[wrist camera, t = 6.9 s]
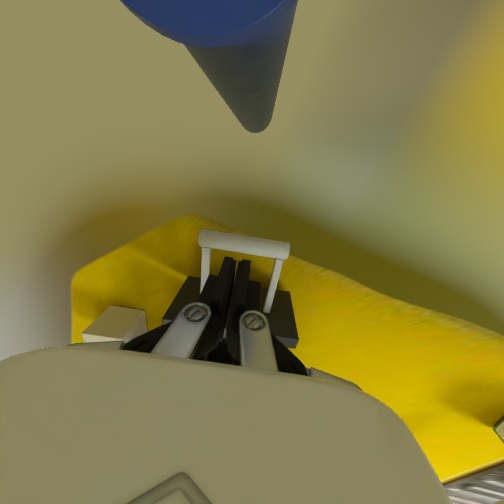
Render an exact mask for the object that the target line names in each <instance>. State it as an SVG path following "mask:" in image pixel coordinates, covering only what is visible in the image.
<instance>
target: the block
mask: <svg viewBox="0 0 504 504" xmlns="http://www.w3.org/2000/svg"><path fill="white" fill-rule="evenodd" d="M146 332H147V324H146V317H145V310H139V309H133V308H126V307H120V306H113V305H110V306H109V307H108V308H107V309H106V310H105V311H104V312H103V313H102V314H101V315H100V316H99V317H98V318H97V319H96V320H95V321H94V322H93V323H92V324H91V325H90V326H89V327H88V328H87V329H86V330H85V331H84V332H83V333H82V336H83V338H84V341H85V343H88V342H104V341H119V340H123V341H124V343H127V342H129V341H130V340H132V339H134V338H135V337H138V336H140V335H142V334H144V333H146Z"/></svg>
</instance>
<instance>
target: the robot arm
mask: <svg viewBox="0 0 504 504" xmlns="http://www.w3.org/2000/svg"><path fill="white" fill-rule="evenodd" d="M250 264H251V260H244V259H243V260H242V261H239V263H238V268H237V272H236V277H235V282H234V275H235V267H236V260H233V258H231V257H225V258H224V261H223V263H222V266H221V269H220V272H219V275H218V276H216V275H210V274H209V276H208V278H207V280H206V282H205V285H204V287H203V289H202V292H201V294H200V296H199V299H198V301H197V302H193V303H190V304H188V305H186V306H185V307H184V308H183V309H182V310H181V312H180V313H179V314H178V316H177V317H176V318H175V320H173V321H171V322H169V323H166V324H164V325H162V326H160V327H158V328H155V329H153V330H151V331H149V332H146V333H144V334H142V335H140V336H138V337H135V338H134V339H132V340H130V341H129V342H127V343H124V341H123V340H119V341H104V342H88V343H75V344H70V345H67V346H62V347H50V348H45V349H39V350H34V351H29V352H25V353H21V354H18V355H15V356H12V357H9V358H7V359H5V360H3V361H1V362H0V504H452V502H451V500H450V498H449V497H448V495H447V493H446V491H445V489H444V487H443V485H442V484H441V482H440V480H439V478H438V476H437V474H436V473H435V471H434V469H433V467H432V465H431V464H430V462H429V460H428V458H427V457H426V455H425V453H424V452H423V450H422V448H421V447H420V445H419V444H418V442H417V440H416V439H415V437H414V435H413V434H412V433H411V431H410V430H409V428H408V427H407V425H406V424H405V423H404V422H403V420H402V419H401V418H400V417H399V416H398V415H397V414H396V413H395V412H394V411H393V410H392V409H391V408H390V407H388V406H387V405H385V404H384V403H383V402H381V401H380V400H378V399H376V398H375V397H373V396H371V395H369V394H367V393H365V392H363V391H362V390H361V389H360V388H359V387H358V386H357V385H356V384H354V383H352V382H350V381H347V380H345V379H342V378H339V377H337V376H334V375H331V374H329V373H326V372H323V371H320V370H318V369H315V368H312V367H311V368H310V369H308V368H306V367H305V366H304V365H303V363H302V362H301V361H300V360H299V359H298V358H297V357H296V356H295V355H294V354H293V353H292V352H291V351H290V350H289V349H287V348H286V347H285V346H284V345H283V344H282V343H281V342H280V341H279V340H278V339H277V338H276V337H275V336H274V335H273V334H272V333H271V332H270V328H269V324H268V320H267V318H266V317H265V315H263V314H262V313H261V312H259V300H260V282H256V281H249V273H250ZM233 283H234V286H233ZM232 290H233V291H232ZM229 306H230V307H229ZM228 311H229V315H228ZM227 316H228V323H227V330H226V338H225V343H228V351H229V352H230V354H231V355H232V356H233V360H232V365H229V364H222V363H215V362H208V361H206V360H207V357H208V353H209V352H210V351H212V350H213V349H215V348H217V345H218V342H222V340H223V335H224V330H225V325H226V321H227Z"/></svg>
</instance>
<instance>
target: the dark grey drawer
mask: <svg viewBox="0 0 504 504" xmlns="http://www.w3.org/2000/svg"><path fill="white" fill-rule="evenodd" d="M198 243H199V246H202V262H201V278H199V277H193V276H188V278H187V279H186V281H185V282H184V284H183V286H182V287H181V289H180V290H179V292H178V294H177V295H176V297H175V299H174V300H173V302H172V303H171V305H170V307H169V308H168V310H167V312H166V313H165V315H164V316H163V318H162V325H164V324H166V323H169V322H171V321H173V320H175V318H176V317H177V316H178V314H179V313H180V312H181V310H182V309H183V308H184V307H185V306H186V305H188V304H190V303H193V302H197V301H198V299H199V296H200V294H201V292H202V289H203V287H204V285H205V282H206V280H207V278H208V276H209V270H210V254H211V248H214V249H221V250H227V251H233V252H239V253H246V254H252V255H258V256H264V257H271V258H275V262H274V266H273V270H272V274H271V279H270V283H269V287H268V288H263V287H260V300H259V312H261V313H262V314H263V315H265V317H266V318H267V320H268V324H269V328H270V332H271V333H272V334H273V335H274V336H275V337H276V338H277V339H278V340H279V341H280V342H281V343H282V344H283V345H284V346H285V347H287V348H294V349H295V348H296V345H297V343H298V340H299V338H298V333H297V328H296V322H295V317H294V312H293V307H292V302H291V296H290V292H288V291H282V290H276V287H277V283H278V279H279V275H280V271H281V268H282V264H283V260H287V258H288V255H289V250H290V244H289V243H288V242H281V241H275V240H269V239H263V238H257V237H251V236H245V235H239V234H232V233H226V232H220V231H214V230H208V229H201V231H200V233H199V238H198ZM233 286H234V283H233ZM232 291H233V290H232ZM229 307H230V306H229ZM228 315H229V311H228ZM227 323H228V316H227V321H226V325H225V330H224V335H223V340H222V342H218V345H217V348H215V349H213V350H212V351H210V352H209V353H208V357H207V360H206V361H208V362H215V363H222V364H229V365H232V360H233V356H232V355H231V354H230V352H229V351H228V343H225V338H226V330H227Z"/></svg>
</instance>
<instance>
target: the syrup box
mask: <svg viewBox="0 0 504 504" xmlns="http://www.w3.org/2000/svg"><path fill="white" fill-rule="evenodd" d="M493 430H494V432H495V433H496V434H497V435H498V437H499V438H500V439H501V440H502V442H503V443H504V417H503V418H502V419H501V420H500V421H499V423H498V424H497V425H496V426H495V427H494V428H493Z"/></svg>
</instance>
